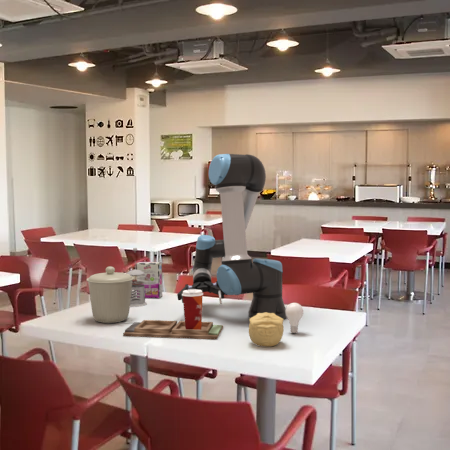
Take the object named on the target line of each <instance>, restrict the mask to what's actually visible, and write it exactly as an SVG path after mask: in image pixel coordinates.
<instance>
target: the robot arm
mask: <svg viewBox="0 0 450 450" xmlns="http://www.w3.org/2000/svg"><path fill="white" fill-rule="evenodd" d="M266 178H267V175H266V168H265V165H264V164H263V162H262V161H261V160H260V159H259V158H258V157H257V156H255V155H254V154H253V155H252V154H240V153H239V154H238V153H220V154H217V155H215V156H214V157H212V159H211V161H210V164H209V168H208V179H209V181H210V183H211V184H212V185H214V186H215V191H216V192H217V193H218V194H220V195H219V197H220V209H221V221H222V233H223V234H222V235H223V239H216V238H215V237H214V236H212V235H207V234H202V235H201V234H200V235H199V236H198V237H197V240H196V245H195V254H194V255H195V256H194V260H193V267H192V275H193V276H192V285H189V284H187V283H186V284H185V285H184V287H183V288H182V289H181V290H180V291H179V292H178V293H177V295H176V297H177V300H178V301H181V302H182V304H183V296H182V294H183V291H184V290H190V289H198V290H202V293H209V294H211V293H213V294H215V295H217V296H218V298H219V299H218V300H219V301H218V302H219V305H222V304H223V303H222V302H223V301H222V300H223V299H225V296H240V295H246V294H252V300H251V303H250V306H249V309H248V318H249V319H250V318H252V317H254V316H255V315H257V313H265V312H267V313H274V314H275V315H277V316H279V317H281V318H283V320H285V319H286V318H287V316H286V314H285V309H286V305H285V303H284V299H283V263H282V262H281V261H280V260H276V259H268V258H259V257H256V258H252V257H251V256H250V255H249V254H248V246H247V245H248V244H247V235H246V234H247V231H246V230H247V228H248V226H249V225H248V224H249V222H250V219H251V216H252V214H253V212H254V209H255V205H256V203H257V200H258V197H259V194H260V193H261V192H263V190H264V187H265V184H266ZM217 258H219V259H220V258H222V259H221V265H219V266H218V268H217V269H216V270H217V271H216V281H215V282H213V281H212V265H213V260H214V259H217ZM287 319H288V318H287Z"/></svg>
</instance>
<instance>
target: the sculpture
mask: <svg viewBox="0 0 450 450" xmlns="http://www.w3.org/2000/svg"><path fill="white" fill-rule="evenodd" d="M248 320H249V325H248V336H249V339H250V340H251V342H252V343H253V344H254V345H255V346H259V347H267V348H269V347H275V346H277V345H279V343H280V342H281V341H282V339H283V335H284V329H285V328H284V319H283V318H281V317H279V316H277V315H275V314H274V313H267V312H265V313H257V315H255V316H254V317H252V318H249V319H248Z"/></svg>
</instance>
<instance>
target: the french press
mask: <svg viewBox="0 0 450 450" xmlns="http://www.w3.org/2000/svg"><path fill="white" fill-rule="evenodd" d="M132 251H134V252H137V251H138V248H137V247H133V249H132ZM126 274H129V275H131V276H132V277H134V280H132V290H131V300H130V308H134V307H135V308H137V307H143V306H147V305H148V304H147V302H146V298H145V293H147V292H148V291H149V290H150V288H151V282H150V283H149V289H148V291H147V292H144V285H140V284H143V283H144V282H142V281H137V280H136V276H140V275H144V272H142V271H140V270H136V263H134V269H132V270H129V271H127V272H126ZM145 277H146V276H145ZM145 277H143V280H145ZM146 279H147V277H146ZM148 279H149V278H148ZM148 279H147V280H148ZM149 281H150V280H148V282H149ZM137 290H139V291H138V292H137ZM137 293H139V294H138V295H137ZM137 296H139V297H137Z"/></svg>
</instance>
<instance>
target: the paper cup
mask: <svg viewBox="0 0 450 450" xmlns="http://www.w3.org/2000/svg"><path fill="white" fill-rule="evenodd" d="M182 296H183V303H182V304H183V314H184V315H183V316H184V317H183V318H184V321H185V328H186V329H194V330H201V326H202V322H203V296H204V292H202V290H198V289H190V290H184V291H183V294H182Z"/></svg>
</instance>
